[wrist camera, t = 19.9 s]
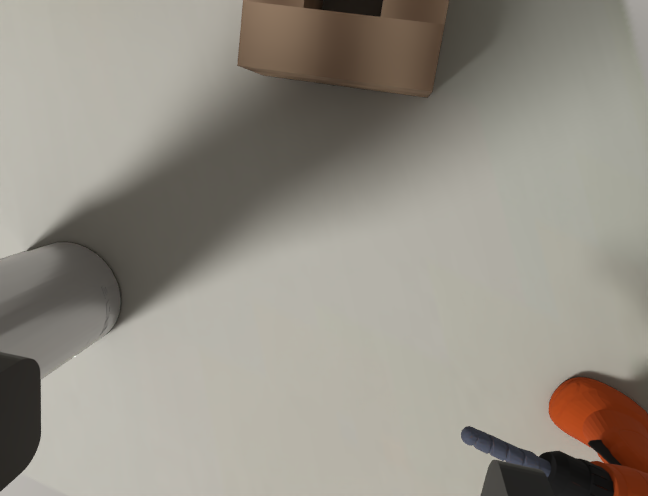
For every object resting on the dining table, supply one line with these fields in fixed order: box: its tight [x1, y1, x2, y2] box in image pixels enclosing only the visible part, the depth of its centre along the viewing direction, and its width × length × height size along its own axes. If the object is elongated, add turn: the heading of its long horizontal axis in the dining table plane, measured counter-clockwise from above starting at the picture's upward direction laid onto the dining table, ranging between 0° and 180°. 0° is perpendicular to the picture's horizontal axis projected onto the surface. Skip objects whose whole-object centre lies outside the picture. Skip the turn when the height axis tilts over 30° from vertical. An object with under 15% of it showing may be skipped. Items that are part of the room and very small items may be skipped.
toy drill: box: [461, 377, 648, 496], centre depth 31 cm, size 5×19×15 cm, turn 64°
